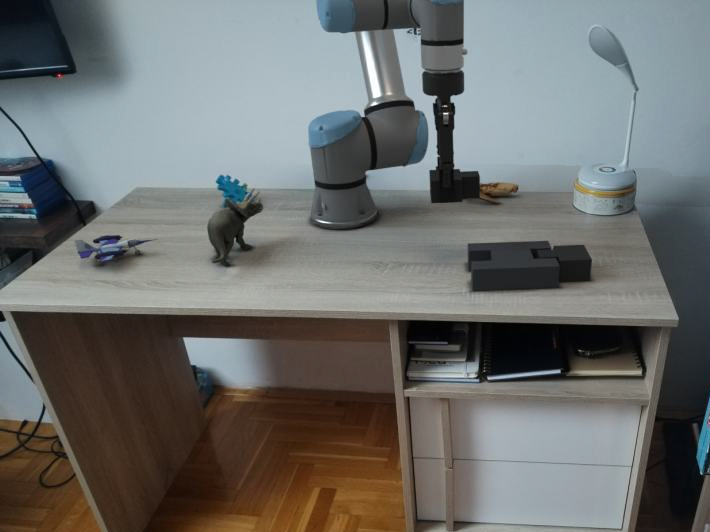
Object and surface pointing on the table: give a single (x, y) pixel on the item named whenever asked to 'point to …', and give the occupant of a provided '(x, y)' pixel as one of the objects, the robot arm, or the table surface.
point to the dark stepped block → (570, 261)
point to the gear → (232, 189)
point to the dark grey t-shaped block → (457, 185)
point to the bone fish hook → (496, 190)
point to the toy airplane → (107, 247)
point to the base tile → (511, 266)
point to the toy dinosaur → (231, 226)
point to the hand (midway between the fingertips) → (445, 195)
